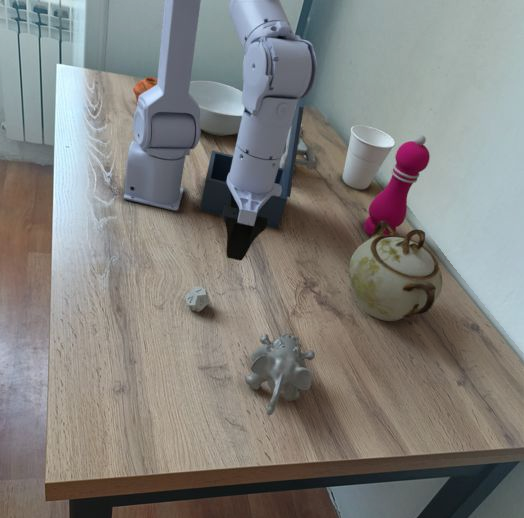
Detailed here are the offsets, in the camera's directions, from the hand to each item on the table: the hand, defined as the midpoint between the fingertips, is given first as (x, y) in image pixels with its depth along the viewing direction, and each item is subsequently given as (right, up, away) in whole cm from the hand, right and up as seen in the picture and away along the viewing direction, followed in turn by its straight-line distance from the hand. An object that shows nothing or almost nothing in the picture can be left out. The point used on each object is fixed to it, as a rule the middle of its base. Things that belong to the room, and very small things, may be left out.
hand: (236, 241), depth 74 cm
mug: (+7, +24, +42) cm, 49 cm away
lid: (+9, +21, +19) cm, 30 cm away
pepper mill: (+27, +9, +34) cm, 44 cm away
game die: (-6, -9, +4) cm, 11 cm away
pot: (-22, +40, +48) cm, 66 cm away
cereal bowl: (-7, +36, +49) cm, 61 cm away
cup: (+24, +22, +47) cm, 57 cm away
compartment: (0, +13, +28) cm, 31 cm away
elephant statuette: (+5, -21, -4) cm, 22 cm away
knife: (+12, +36, +56) cm, 67 cm away
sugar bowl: (+23, -8, +16) cm, 29 cm away
